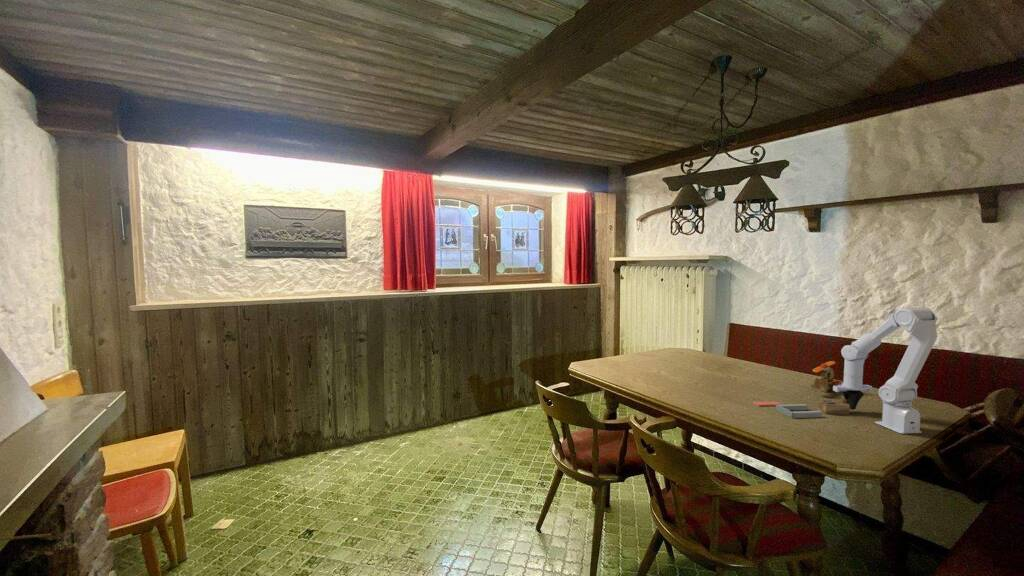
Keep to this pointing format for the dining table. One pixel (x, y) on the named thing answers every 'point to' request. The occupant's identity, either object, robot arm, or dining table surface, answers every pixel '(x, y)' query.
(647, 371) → the dining table surface
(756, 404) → the wing plank
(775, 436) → the dining table surface
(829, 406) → the fuselage block
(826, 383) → the orange handled valve
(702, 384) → the dining table surface
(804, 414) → the cradle jig
